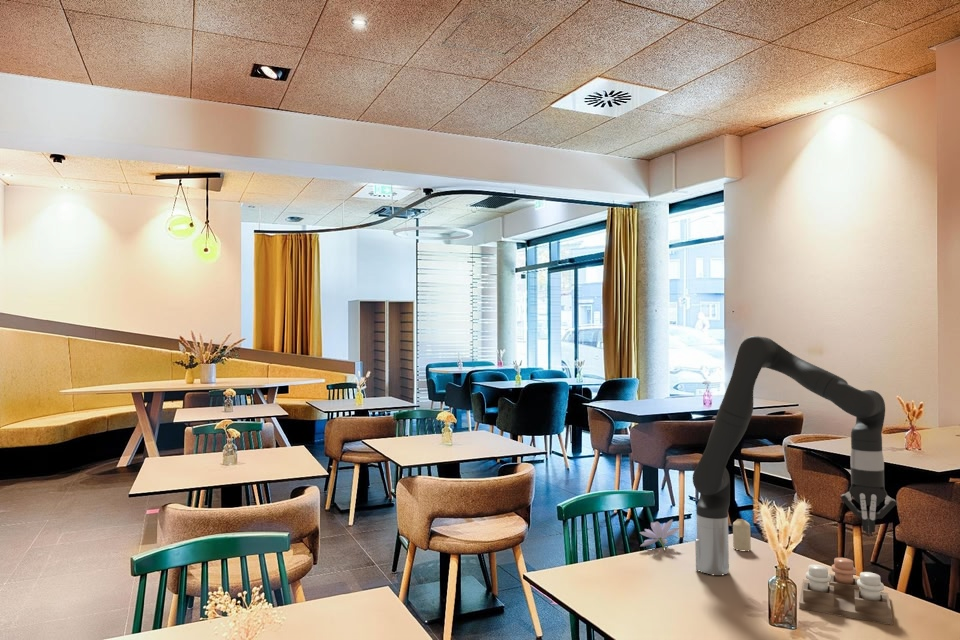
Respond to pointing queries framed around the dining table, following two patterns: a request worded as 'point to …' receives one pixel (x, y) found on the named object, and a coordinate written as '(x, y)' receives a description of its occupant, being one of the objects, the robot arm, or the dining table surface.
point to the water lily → (658, 533)
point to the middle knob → (843, 570)
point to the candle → (741, 535)
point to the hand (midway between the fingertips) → (868, 533)
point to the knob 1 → (818, 578)
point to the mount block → (846, 602)
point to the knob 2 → (870, 586)
